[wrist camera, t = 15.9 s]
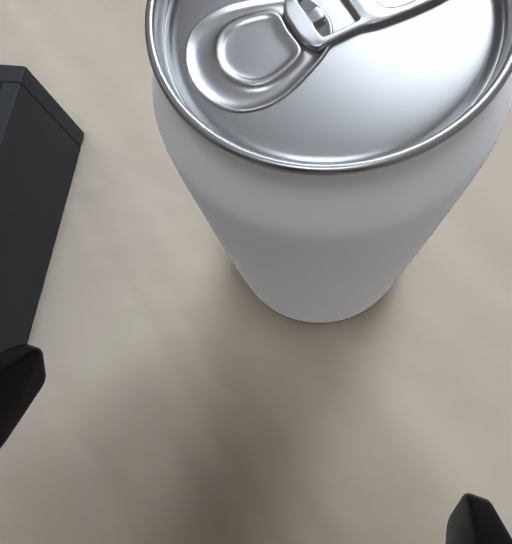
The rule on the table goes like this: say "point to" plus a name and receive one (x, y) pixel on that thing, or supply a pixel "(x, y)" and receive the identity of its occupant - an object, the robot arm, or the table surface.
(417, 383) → the table surface
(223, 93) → the can
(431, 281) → the table surface
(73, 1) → the table surface
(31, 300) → the bin
